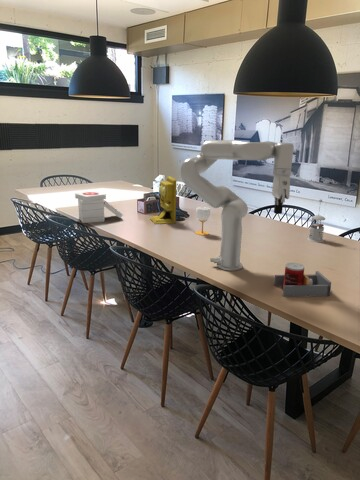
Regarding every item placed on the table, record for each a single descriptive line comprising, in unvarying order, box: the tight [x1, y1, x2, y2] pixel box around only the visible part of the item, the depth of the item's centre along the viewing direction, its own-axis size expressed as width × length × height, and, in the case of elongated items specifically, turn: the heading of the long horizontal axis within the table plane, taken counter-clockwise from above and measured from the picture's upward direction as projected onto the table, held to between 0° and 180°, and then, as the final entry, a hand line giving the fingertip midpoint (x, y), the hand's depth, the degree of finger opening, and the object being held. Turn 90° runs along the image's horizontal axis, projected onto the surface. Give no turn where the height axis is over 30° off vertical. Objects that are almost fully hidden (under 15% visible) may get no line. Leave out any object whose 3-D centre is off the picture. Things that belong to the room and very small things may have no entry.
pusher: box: [302, 273, 313, 285], centre depth 166 cm, size 4×9×7 cm, turn 5°
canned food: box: [282, 262, 305, 288], centre depth 165 cm, size 8×8×11 cm
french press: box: [306, 199, 326, 243], centre depth 235 cm, size 10×12×25 cm
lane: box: [273, 270, 332, 298], centre depth 166 cm, size 20×12×6 cm, turn 95°
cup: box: [194, 206, 211, 236], centre depth 244 cm, size 9×9×16 cm
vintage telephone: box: [149, 175, 177, 225], centre depth 270 cm, size 31×14×30 cm, turn 17°
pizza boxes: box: [74, 190, 124, 224], centre depth 272 cm, size 19×30×18 cm, turn 112°
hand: (277, 213), depth 175 cm, fingers closed
